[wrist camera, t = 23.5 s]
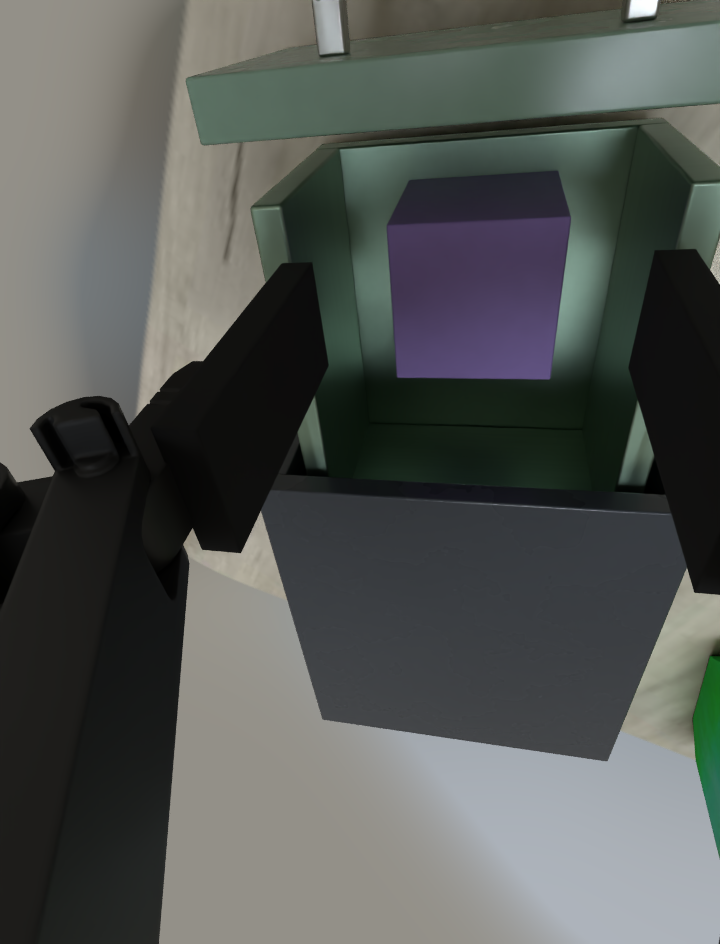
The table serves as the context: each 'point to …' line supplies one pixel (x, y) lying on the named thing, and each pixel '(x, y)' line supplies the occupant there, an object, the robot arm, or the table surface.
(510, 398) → the green drawer
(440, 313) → the purple cube
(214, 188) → the table surface
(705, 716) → the apple
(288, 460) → the charcoal drawer box
